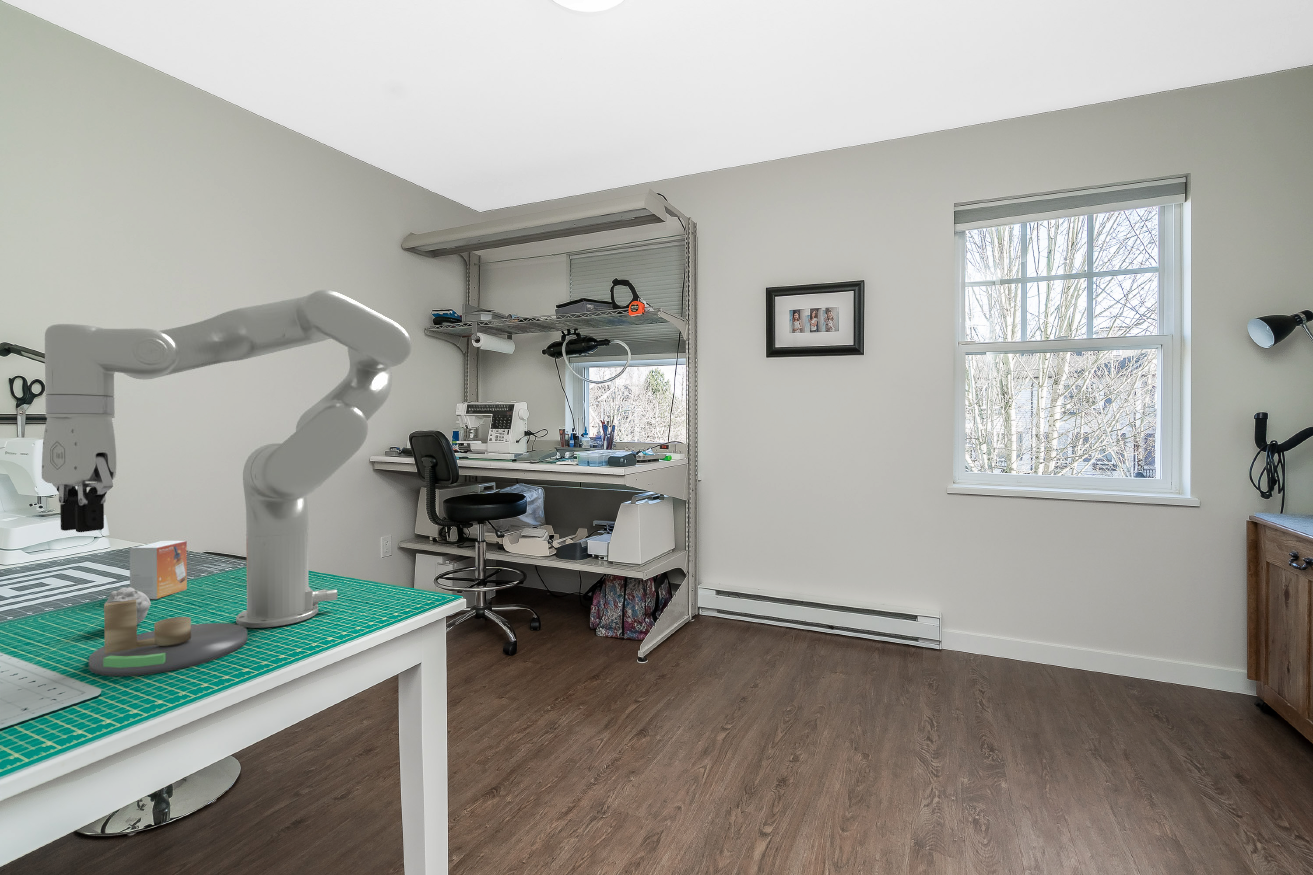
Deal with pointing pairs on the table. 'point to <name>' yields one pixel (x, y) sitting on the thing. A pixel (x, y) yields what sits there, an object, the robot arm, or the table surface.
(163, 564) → the small box
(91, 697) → the table surface
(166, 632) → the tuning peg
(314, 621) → the table surface
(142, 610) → the grey rounded lump
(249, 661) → the table surface
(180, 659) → the dial face
